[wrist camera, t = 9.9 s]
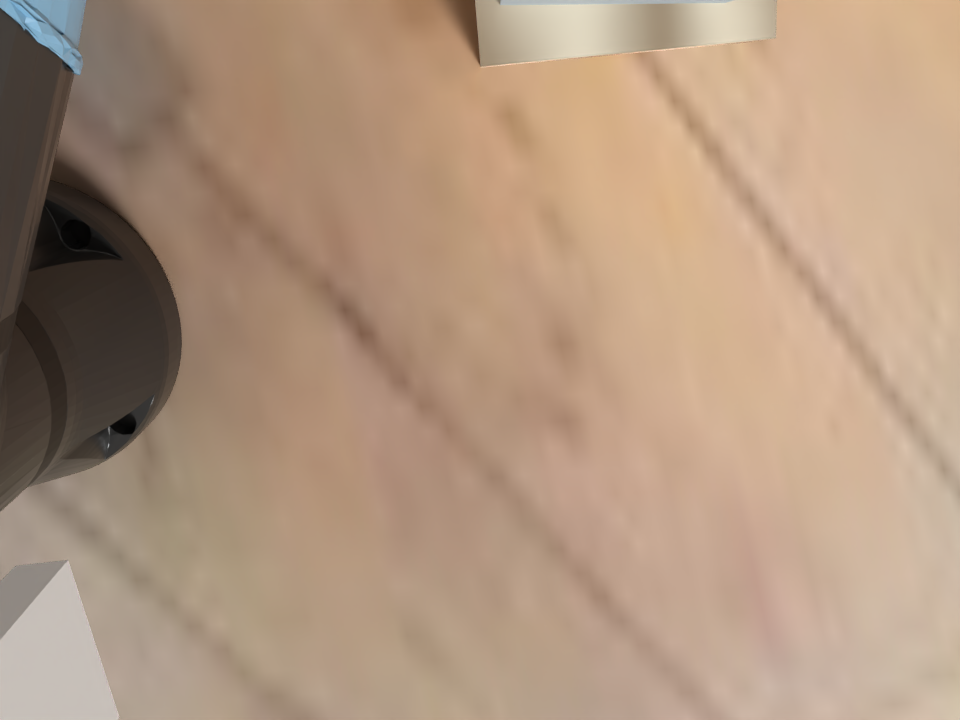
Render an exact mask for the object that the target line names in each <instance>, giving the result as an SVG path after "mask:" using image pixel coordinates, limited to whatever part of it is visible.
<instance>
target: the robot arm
mask: <svg viewBox="0 0 960 720" xmlns="http://www.w3.org/2000/svg"><path fill="white" fill-rule="evenodd" d="M85 5H86V0H0V512H1V511H2V510H3V509H4V508H5V507H6V506H7V505H8V504H10V503H11V502H12V501H13V500H14V499H15V498H16V497H17V496H18V495H19V494H20V493H21V492H22V491H23V490H24V489H26V488H27V487H29V486H33V485H36V484H40V483H43V482H47V481H50V480H54V479H57V478H61V477H64V476H68V475H71V474H75V473H78V472H81V471H84V470H87V469H90V468H92V467H94V466H96V465H99V464H100V463H102V462H104V461H106V460H108V459H109V458H111V457H113V456H114V455H116V454H117V453H119V452H120V451H122V450H123V449H124V448H125V447H127V446H128V445H129V444H130V443H131V442H132V441H133V440H134V439H135V438H136V437H137V436H138V435H139V434H140V433H141V432H142V431H143V430H144V429H145V428H146V427H147V426H148V425H149V424H150V423H151V422H152V421H153V420H154V419H155V417H156V416H157V415H158V413H159V412H160V411H161V409H162V408H163V406H164V405H165V403H166V401H167V399H168V397H169V396H170V394H171V391H172V389H173V386H174V384H175V381H176V378H177V374H178V370H179V365H180V359H181V347H182V338H181V325H180V318H179V313H178V309H177V305H176V301H175V298H174V295H173V292H172V289H171V287H170V285H169V282H168V280H167V278H166V276H165V274H164V272H163V270H162V268H161V266H160V265H159V263H158V261H157V260H156V258H155V257H154V255H153V254H152V252H151V251H150V249H149V248H148V247H147V246H146V244H145V243H144V242H143V240H142V239H141V238H140V237H139V236H138V235H137V234H136V233H135V231H134V230H133V229H132V228H131V227H130V226H128V225H127V224H126V223H125V222H124V221H123V220H122V219H121V218H120V217H118V216H117V215H116V214H115V213H114V212H112V211H111V210H110V209H108V208H107V207H106V206H104V205H102V204H101V203H99V202H98V201H96V200H95V199H93V198H91V197H89V196H88V195H86V194H84V193H82V192H80V191H78V190H76V189H74V188H71V187H69V186H66V185H64V184H61V183H58V182H55V181H52V180H50V176H51V172H52V167H53V163H54V159H55V155H56V150H57V146H58V142H59V137H60V133H61V129H62V125H63V120H64V116H65V112H66V107H67V103H68V99H69V95H70V90H71V86H72V82H73V77H74V74H77V75H80V74H81V70H82V66H83V61H82V56H81V55H80V53H79V51H78V45H79V40H80V34H81V28H82V22H83V16H84V10H85ZM119 718H120V717H119V714H118V711H117V708H116V705H115V702H114V699H113V696H112V693H111V690H110V687H109V684H108V681H107V678H106V675H105V672H104V669H103V665H102V662H101V659H100V656H99V653H98V650H97V647H96V644H95V641H94V638H93V635H92V632H91V629H90V626H89V623H88V620H87V617H86V613H85V610H84V607H83V604H82V601H81V598H80V595H79V592H78V589H77V586H76V583H75V580H74V577H73V574H72V571H71V568H70V565H69V561H68V560H64V561H55V562H46V563H37V564H29V565H20V566H15V567H14V568H13V569H12V570H11V571H10V572H9V573H8V574H7V575H6V576H5V577H4V578H3V579H2V580H1V581H0V720H118V719H119Z"/></svg>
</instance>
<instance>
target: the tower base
mask: <svg viewBox="0 0 960 720" xmlns="http://www.w3.org/2000/svg"><path fill="white" fill-rule="evenodd" d="M475 6H476V18H477V30H478V42H479V54H480V66H481V67H492V66H503V65H513V64H524V63H534V62H545V61H555V60H566V59H577V58H587V57H598V56H608V55H619V54H629V53H640V52H651V51H661V50H672V49H682V48H693V47H703V46H714V45H725V44H735V43H745V42H752V41H760V40H767V39H774V38H776V17H777V0H733V1H730V2H727V3H676V4H574V5H500V0H475Z"/></svg>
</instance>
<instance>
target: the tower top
mask: <svg viewBox="0 0 960 720" xmlns="http://www.w3.org/2000/svg"><path fill="white" fill-rule="evenodd" d="M730 1H733V0H500V5H574V4H676V3H727V2H730Z"/></svg>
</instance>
